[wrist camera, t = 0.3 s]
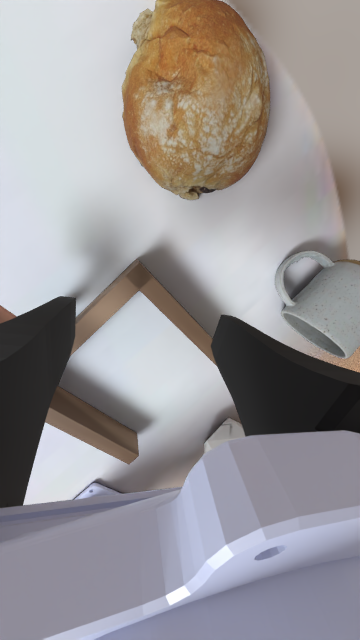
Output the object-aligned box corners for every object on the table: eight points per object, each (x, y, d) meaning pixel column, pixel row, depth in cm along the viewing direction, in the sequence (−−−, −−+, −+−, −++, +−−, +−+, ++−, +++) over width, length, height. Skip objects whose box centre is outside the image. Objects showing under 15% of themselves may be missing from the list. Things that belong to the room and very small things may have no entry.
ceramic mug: (348, 290, 27) (423, 309, 20) (301, 339, 28) (358, 372, 21) (305, 230, 23) (379, 228, 16) (252, 289, 24) (302, 310, 17)
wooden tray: (128, 441, 27) (130, 517, 20) (-48, 341, 19) (-155, 411, 11) (226, 353, 26) (267, 400, 19) (86, 205, 18) (61, 186, 10)
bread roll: (138, 195, 21) (161, 233, 16) (87, 15, 14) (102, -23, 8) (232, 166, 22) (283, 193, 17) (237, -17, 15) (333, -68, 9)
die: (258, 406, 31) (266, 438, 22) (274, 470, 31) (289, 531, 21) (202, 414, 33) (187, 446, 24) (215, 474, 33) (205, 531, 23)
